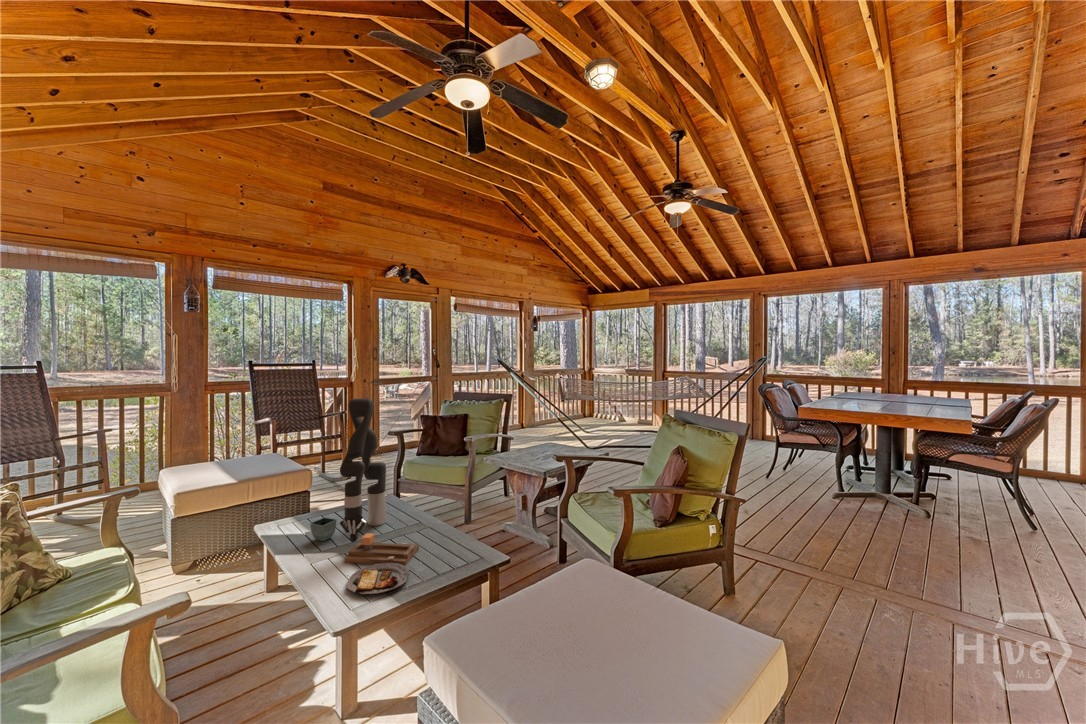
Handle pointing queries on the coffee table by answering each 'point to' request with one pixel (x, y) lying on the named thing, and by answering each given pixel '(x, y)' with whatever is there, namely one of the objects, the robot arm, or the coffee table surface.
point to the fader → (368, 541)
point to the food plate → (377, 578)
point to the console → (382, 553)
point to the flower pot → (323, 528)
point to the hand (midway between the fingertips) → (353, 541)
